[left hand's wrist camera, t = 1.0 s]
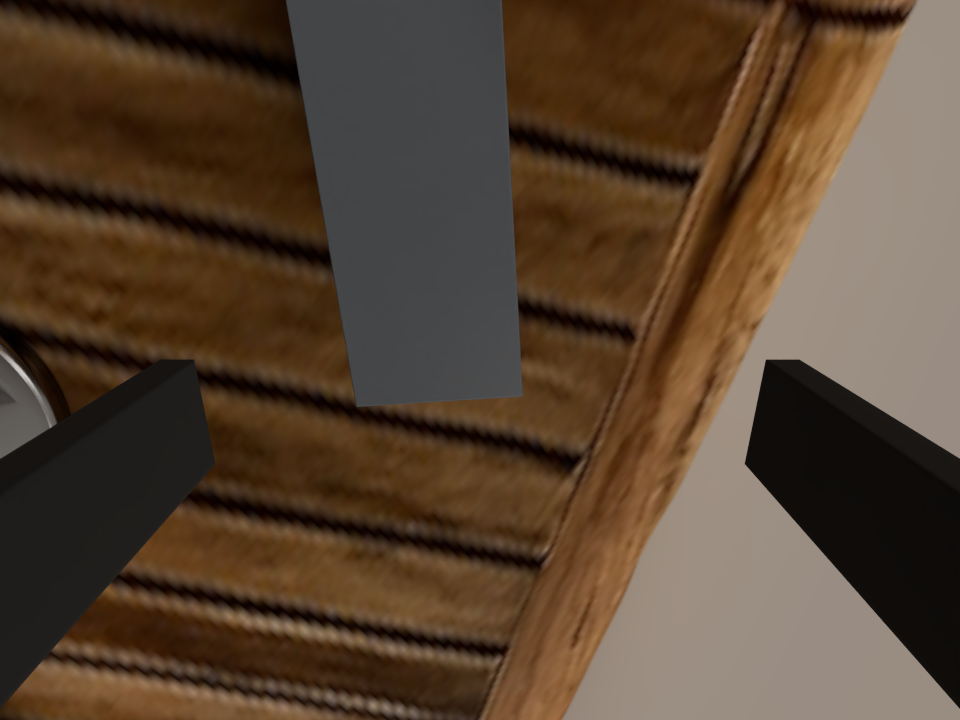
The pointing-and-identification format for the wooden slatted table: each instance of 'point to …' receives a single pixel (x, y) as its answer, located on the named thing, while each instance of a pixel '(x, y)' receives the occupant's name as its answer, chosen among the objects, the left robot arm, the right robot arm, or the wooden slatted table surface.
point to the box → (415, 192)
